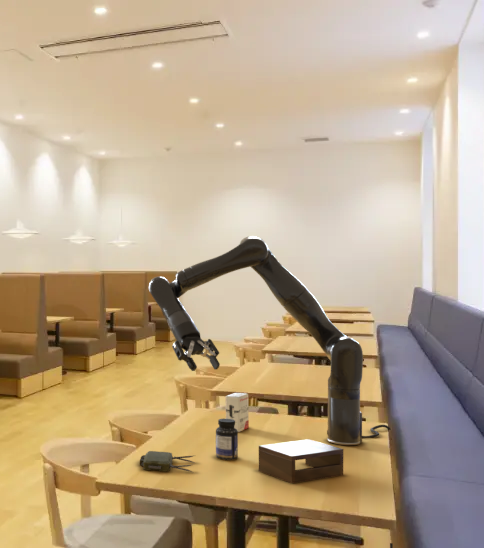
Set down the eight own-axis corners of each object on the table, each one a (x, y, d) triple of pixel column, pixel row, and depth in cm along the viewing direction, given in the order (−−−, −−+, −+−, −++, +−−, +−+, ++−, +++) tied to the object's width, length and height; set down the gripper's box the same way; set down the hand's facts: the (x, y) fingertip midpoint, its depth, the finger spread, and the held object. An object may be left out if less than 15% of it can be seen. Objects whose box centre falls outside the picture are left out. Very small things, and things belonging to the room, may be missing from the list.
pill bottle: (228, 454, 214) (228, 417, 214) (242, 459, 209) (242, 421, 209) (211, 456, 212) (211, 419, 212) (225, 461, 206) (225, 423, 206)
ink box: (235, 425, 252) (235, 391, 252) (249, 427, 249) (249, 393, 249) (225, 430, 245) (225, 395, 245) (239, 432, 242) (239, 396, 242)
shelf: (308, 463, 204) (308, 439, 204) (343, 475, 193) (343, 449, 193) (258, 471, 197) (258, 445, 197) (291, 483, 186) (291, 456, 186)
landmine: (143, 448, 211) (196, 451, 207) (143, 457, 211) (196, 461, 207) (137, 460, 198) (194, 464, 194) (137, 470, 198) (194, 474, 194)
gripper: (169, 321, 226) (192, 362, 216) (206, 319, 232) (230, 359, 222) (159, 336, 231) (181, 377, 221) (196, 334, 237) (219, 374, 227)
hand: (206, 368), depth 221 cm, fingers open, 8 cm apart
